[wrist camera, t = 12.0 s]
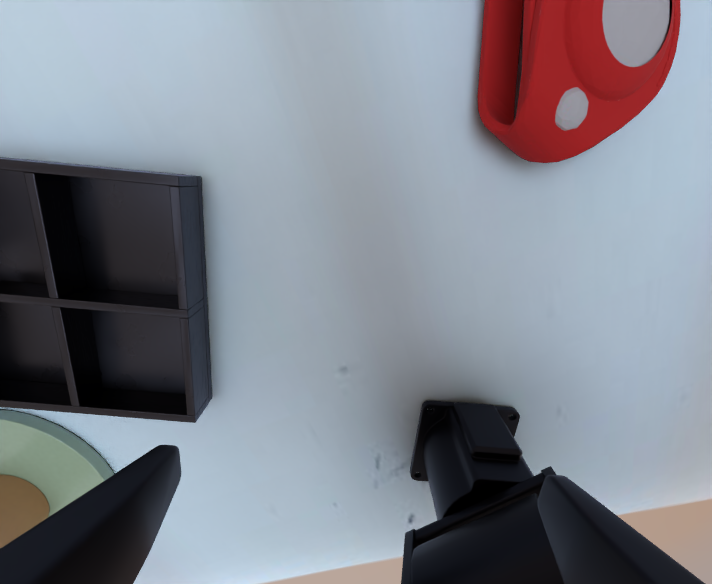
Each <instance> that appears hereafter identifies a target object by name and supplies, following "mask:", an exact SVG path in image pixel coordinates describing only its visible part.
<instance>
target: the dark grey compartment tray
mask: <svg viewBox="0 0 712 584" xmlns="http://www.w3.org/2000/svg"><path fill="white" fill-rule="evenodd" d="M211 399H212V387H211V367H210V347H209V326H208V306H207V286H206V266H205V245H204V225H203V205H202V184H201V177H200V176H192V175H182V174H171V173H161V172H150V171H140V170H130V169H119V168H109V167H98V166H88V165H78V164H67V163H57V162H47V161H36V160H26V159H15V158H5V157H0V407H10V408H22V409H34V410H46V411H58V412H71V413H83V414H95V415H107V416H119V417H132V418H144V419H156V420H168V421H180V422H193V423H195V422H196V421H197V419H198V418H199V417H200V415H201V414H202V412H203V411H204V409H205V408H206V406H207V405H208V403H209V402H210V400H211Z"/></svg>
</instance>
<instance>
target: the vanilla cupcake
mask: <svg viewBox="0 0 712 584" xmlns="http://www.w3.org/2000/svg"><path fill="white" fill-rule="evenodd" d="M48 515H49V503H48V501H47V499H46V497H45V496H44V494H43V493H42V492H41V491H40V490H39V489H38V488H37V487H36V486H34V485H33V484H31V483H30V482H28V481H26V480H24V479H21V478H18V477H15V476H11V475H0V548H2V547H3V546H5V545H7V544H8V543H10V542H11V541H13V540H14V539H16V538H17V537H19V536H20V535H22V534H23V533H25V532H26V531H28V530H30V529H31V528H33V527H34V526H36V525H37V524H39V523H40V522H42V521H43V520H45V519H46V518H47V517H48Z"/></svg>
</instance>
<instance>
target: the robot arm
mask: <svg viewBox="0 0 712 584" xmlns="http://www.w3.org/2000/svg"><path fill="white" fill-rule="evenodd" d="M430 407H431V408H432V409H431V410H427V408H430ZM511 414H513V415H512V416H511V417H509V415H511ZM519 419H520V415H519V413H518V412H517V410H516V409H515V408H512V407H501V406H493V405H485V404H474V403H462V402H457V403H454V402H442V401H426V402H424V403H423V404H422V407H421V413H420V418H419V424H418V429H417V435H416V440H415V446H414V451H413V457H412V462H411V468H410V473H411V477H412V479H414V480H417V481H429V485H430V489H431V494H432V498H433V502H434V507H435V511H436V515H437V521H435V522H433V523H431V524H429V525H426V526H424V527H422V528H420V529H418V530H415V529H413V530H411V531H408V532H406V533H405V543H404V555H403V568H402V580H401V584H705V583H703V582H702V581H701V580H700V579H698V578H697V577H696V576H694V575H693V574H692V573H691V572H689V571H688V570H687V569H685V568H684V567H683V566H681V565H680V564H679V563H677V562H676V561H675V560H673V559H672V558H671V557H670V556H668V555H667V554H666V553H665V552H663V551H662V550H661V549H659V548H658V547H657V546H655V545H654V544H653V543H652V542H650V541H649V540H648V539H646V538H645V537H644V536H642V535H641V534H640V533H638V532H637V531H636V530H635V529H633V528H632V527H631V526H629V525H628V524H627V523H626V522H624V521H623V520H622V519H620V518H619V517H618V516H616V515H615V514H614V513H613V512H611V511H610V510H609V509H607V508H606V507H605V506H603V505H602V504H601V503H600V502H598V501H597V500H596V499H594V498H593V497H592V496H590V495H589V494H588V493H587V492H585V491H584V490H583V489H581V488H580V487H579V486H577V485H576V484H575V483H574V482H572V481H571V480H570V479H568V478H567V477H565V476H561V475H556V473H555V472H554V470H553V469H552V468H551V466H550V467H548V468H545V469H543V470H541V471H542V473H540V474H538V475H536V476H533V474H532V472H531V471H530V469H529V467H528V466H527V464H526V462H525V460H524V459H523V457H522V451H521V449H520V447H519V446H518V444H517V442H516V441H515V439H514V436H515V432H516V429H517V425H518V422H519ZM416 472H419V473H416ZM180 477H181V465H180V454H179V449H178V447H177V446H173V445H159V446H157V447H155V448H154V449H152V450H151V451H149V452H148V453H146V454H145V455H143V456H142V457H140V458H138V459H137V460H135V461H134V462H132V463H131V464H129V465H128V466H126V467H125V468H123V469H122V470H120V471H119V472H117V473H115V474H114V475H112V476H111V477H109V478H108V479H106V480H105V481H103V482H102V483H100V484H99V485H97V486H96V487H94V488H92V489H91V490H89V491H88V492H86V493H85V494H83V495H82V496H80V497H79V498H77V499H76V500H74V501H73V502H71V503H69V504H68V505H66V506H65V507H63V508H62V509H60V510H59V511H57V512H56V513H54V514H53V515H51V516H49V517H48V518H46V519H45V520H43V521H42V522H40V523H39V524H37V525H36V526H34V527H33V528H31V529H30V530H28V531H26V532H25V533H23V534H22V535H20V536H19V537H17V538H16V539H14V540H13V541H11V542H10V543H8V544H7V545H5V546H3V547H2V548H0V584H133V583H134V581H135V579H136V577H137V575H138V573H139V571H140V570H141V568H142V566H143V564H144V562H145V560H146V558H147V556H148V554H149V552H150V550H151V547H152V545H153V543H154V541H155V538H156V536H157V534H158V531H159V529H160V526H161V524H162V522H163V519H164V517H165V515H166V512H167V510H168V508H169V505H170V503H171V501H172V498H173V496H174V493H175V491H176V489H177V486H178V484H179V481H180Z"/></svg>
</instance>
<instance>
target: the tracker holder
mask: <svg viewBox="0 0 712 584" xmlns="http://www.w3.org/2000/svg"><path fill="white" fill-rule="evenodd" d="M523 1H524V18H523V48H522V74H521V81H520V89H519V97H518V105H517V113H516V117H515V120H514V107H515V95H516V84H517V72H518V60H519V48H520V36H521V25H522V13H523ZM680 16H681V13H680V0H485V3H484V17H483V31H482V44H481V57H480V70H479V84H478V97H477V98H478V111H479V115H480V118H481V121H482V122H483V124H484V126H485V127H486V128H487V129H488V130H489V131H490V132H491V133H493V134H494V135H495V136H496V137H497V138H498V139H499V140H500V141H501V142H503V143H504V144H505V145H506V146H507V147H508V148H509V149H510V150H511V151H513V152H514V153H515V154H516V155H518V156H519V157H521V158H523V159H525V160H527V161H531V162H540V163H550V162H559V161H562V160H565V159H568V158H571V157H574V156H577V155H578V154H580V153H582V152H584V151H586V150H588V149H590V148H592V147H594V146H595V145H596V144H598V143H599V142H601V141H602V140H604V139H605V138H607V137H608V136H610V135H611V134H613V133H614V132H616V131H617V130H619V129H620V128H622V127H623V126H624V125H625V124H627V123H628V122H629V121H630V120H632V119H633V118H634V117H635V116H637V115H638V114H639V113H640V112H641V111H642V110H643V109H644V108H645V107H646V106H647V105H648V104H649V103H650V102H651V101H652V100H653V99H654V97H655V96H656V95H657V94H658V92H659V91H660V89H661V87H662V86H663V84H664V82H665V80H666V78H667V75H668V73H669V71H670V68H671V65H672V62H673V59H674V56H675V52H676V47H677V41H678V35H679V28H680Z"/></svg>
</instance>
